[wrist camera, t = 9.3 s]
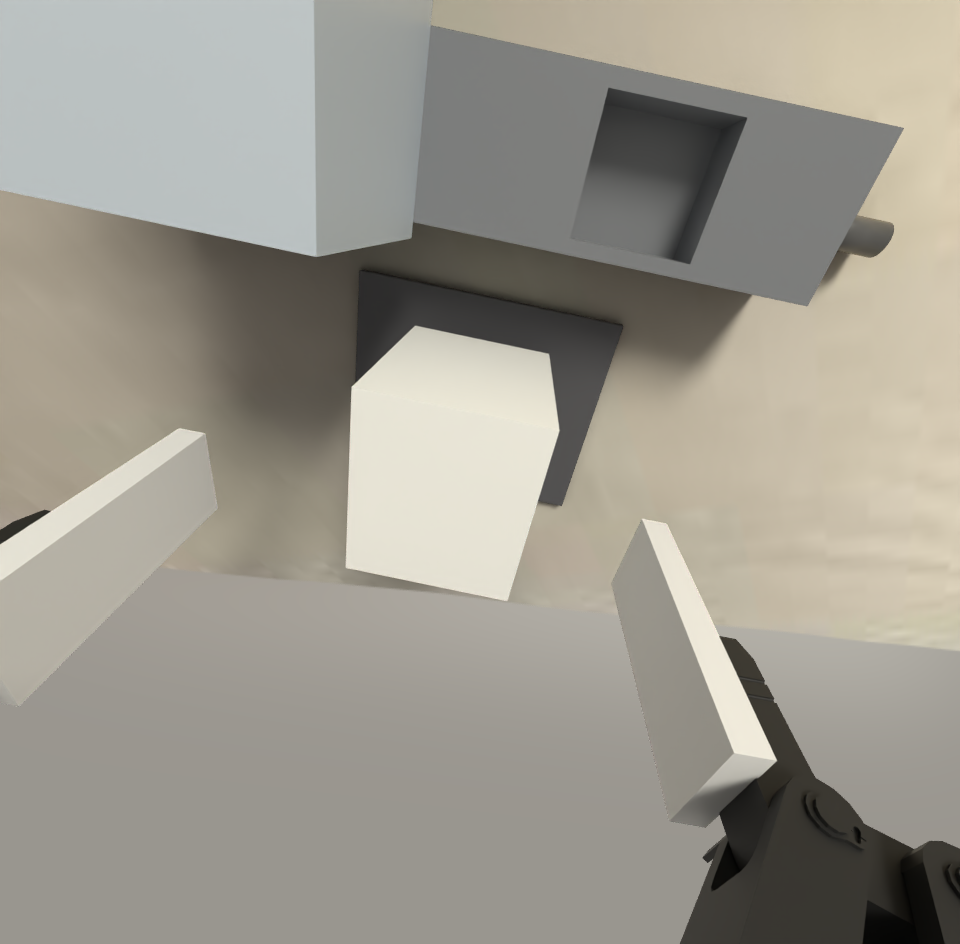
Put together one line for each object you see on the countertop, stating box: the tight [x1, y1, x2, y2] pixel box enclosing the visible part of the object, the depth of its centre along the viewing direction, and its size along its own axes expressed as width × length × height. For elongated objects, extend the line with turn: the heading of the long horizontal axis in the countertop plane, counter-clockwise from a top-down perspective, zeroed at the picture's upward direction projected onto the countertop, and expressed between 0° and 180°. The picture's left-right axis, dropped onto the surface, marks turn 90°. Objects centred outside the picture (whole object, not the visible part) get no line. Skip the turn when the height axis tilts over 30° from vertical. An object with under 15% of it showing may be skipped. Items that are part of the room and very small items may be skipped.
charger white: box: [346, 326, 559, 601], centre depth 18 cm, size 7×6×9 cm
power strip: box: [413, 26, 904, 306], centre depth 16 cm, size 27×5×4 cm, turn 79°
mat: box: [355, 270, 623, 506], centre depth 22 cm, size 12×10×1 cm
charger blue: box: [0, 0, 433, 257], centre depth 11 cm, size 7×6×9 cm
